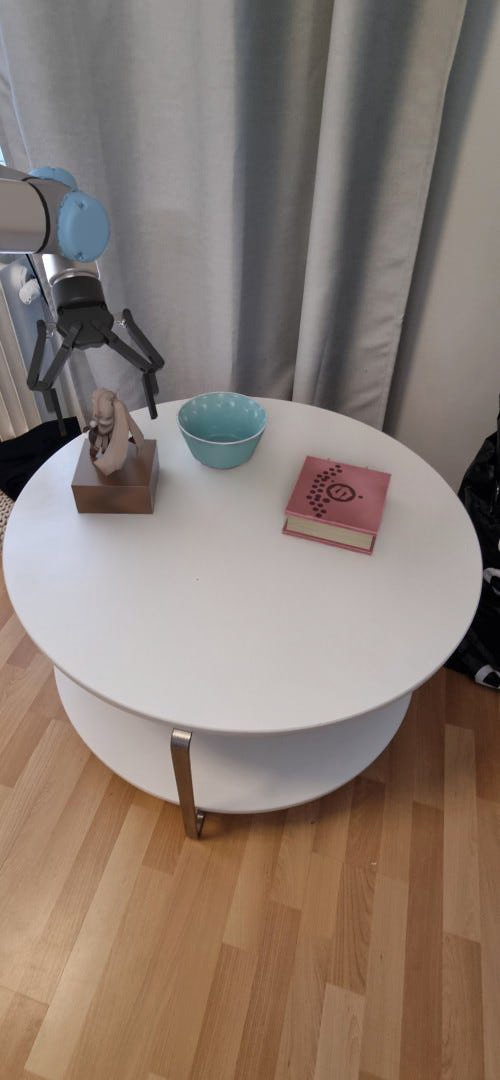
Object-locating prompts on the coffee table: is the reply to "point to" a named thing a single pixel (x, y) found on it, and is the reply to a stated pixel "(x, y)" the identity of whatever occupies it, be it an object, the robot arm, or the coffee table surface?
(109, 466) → the toy
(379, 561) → the coffee table surface
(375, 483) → the book
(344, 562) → the coffee table surface
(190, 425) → the bowl
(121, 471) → the walnut block
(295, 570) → the coffee table surface
